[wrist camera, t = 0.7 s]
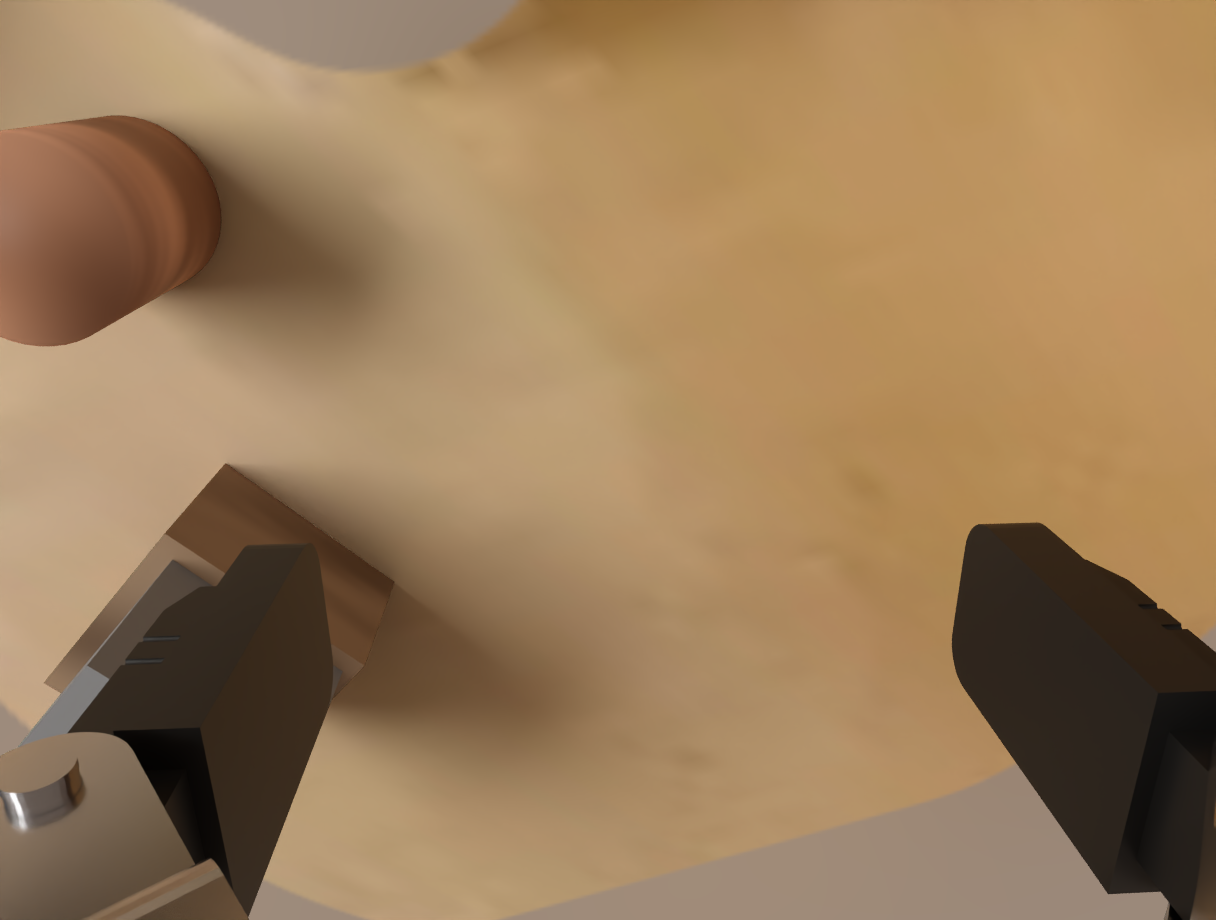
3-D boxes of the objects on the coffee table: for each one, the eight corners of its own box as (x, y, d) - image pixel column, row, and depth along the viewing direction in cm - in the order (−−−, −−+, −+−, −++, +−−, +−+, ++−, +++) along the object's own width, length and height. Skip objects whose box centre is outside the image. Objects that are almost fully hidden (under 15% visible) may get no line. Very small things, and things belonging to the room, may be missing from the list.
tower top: (172, 559, 26) (86, 665, 22) (342, 671, 28) (296, 790, 24) (67, 685, 28) (-32, 807, 24) (234, 783, 30) (171, 915, 25)
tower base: (227, 461, 31) (164, 533, 26) (395, 579, 33) (364, 665, 28) (118, 594, 33) (43, 682, 28) (283, 698, 35) (238, 796, 30)
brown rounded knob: (101, 76, 26) (-31, 82, 20) (253, 198, 27) (169, 235, 22) (15, 212, 27) (-129, 253, 22) (165, 321, 28) (65, 385, 23)
